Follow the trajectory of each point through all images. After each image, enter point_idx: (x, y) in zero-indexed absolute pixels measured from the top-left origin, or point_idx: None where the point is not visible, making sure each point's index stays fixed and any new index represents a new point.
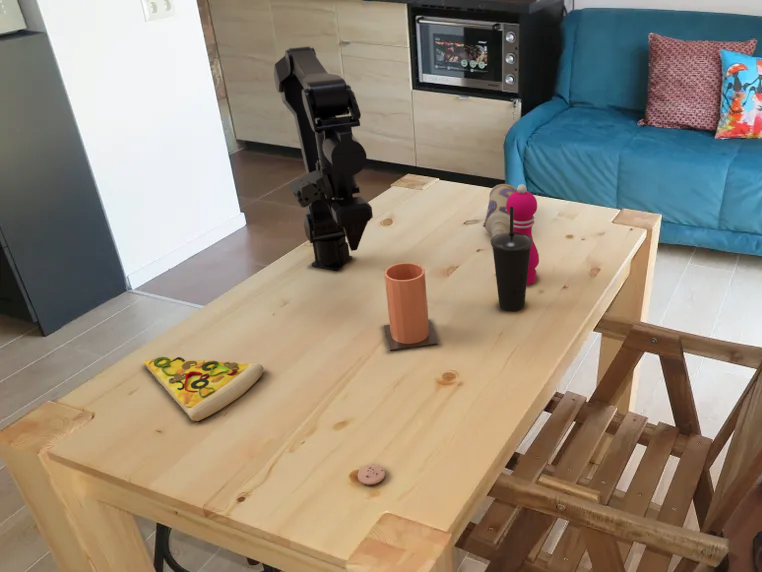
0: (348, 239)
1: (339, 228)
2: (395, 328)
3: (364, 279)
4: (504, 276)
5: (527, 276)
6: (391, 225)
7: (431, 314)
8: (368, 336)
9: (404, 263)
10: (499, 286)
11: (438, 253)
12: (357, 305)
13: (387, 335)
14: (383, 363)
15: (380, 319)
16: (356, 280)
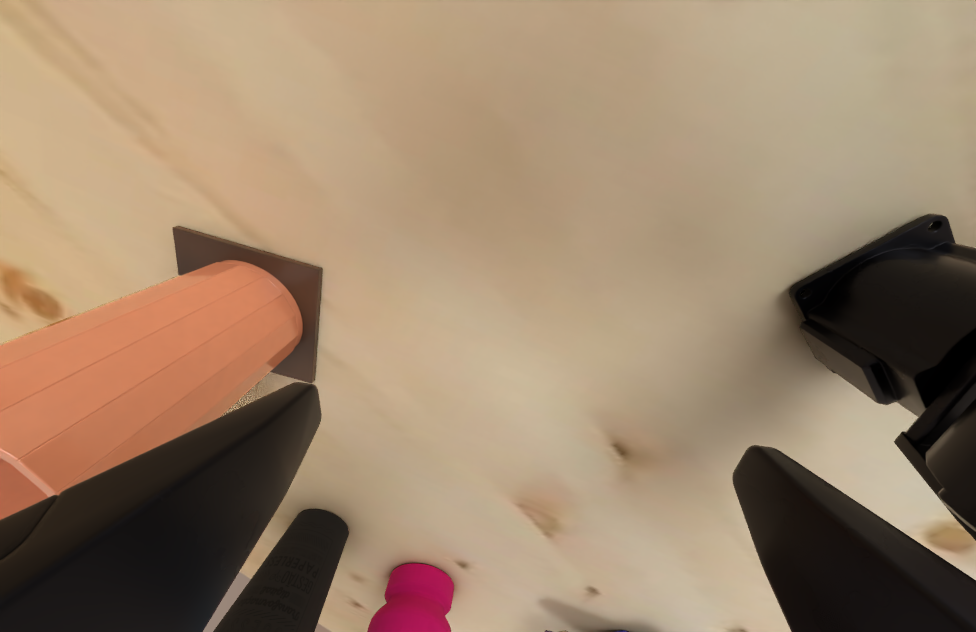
0: (125, 465)
1: (760, 475)
2: (169, 279)
3: (655, 340)
4: (231, 612)
5: (387, 599)
6: (920, 537)
7: (348, 398)
8: (283, 201)
9: None
10: (275, 569)
11: (646, 538)
12: (497, 250)
13: (254, 254)
14: (113, 178)
15: (374, 277)
16: (668, 316)
